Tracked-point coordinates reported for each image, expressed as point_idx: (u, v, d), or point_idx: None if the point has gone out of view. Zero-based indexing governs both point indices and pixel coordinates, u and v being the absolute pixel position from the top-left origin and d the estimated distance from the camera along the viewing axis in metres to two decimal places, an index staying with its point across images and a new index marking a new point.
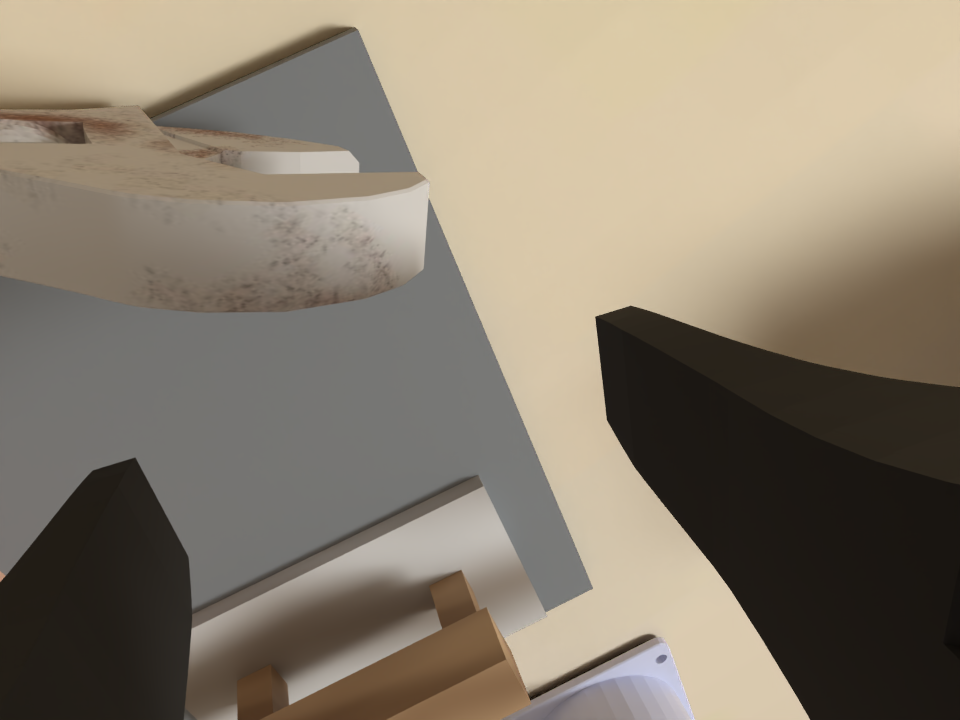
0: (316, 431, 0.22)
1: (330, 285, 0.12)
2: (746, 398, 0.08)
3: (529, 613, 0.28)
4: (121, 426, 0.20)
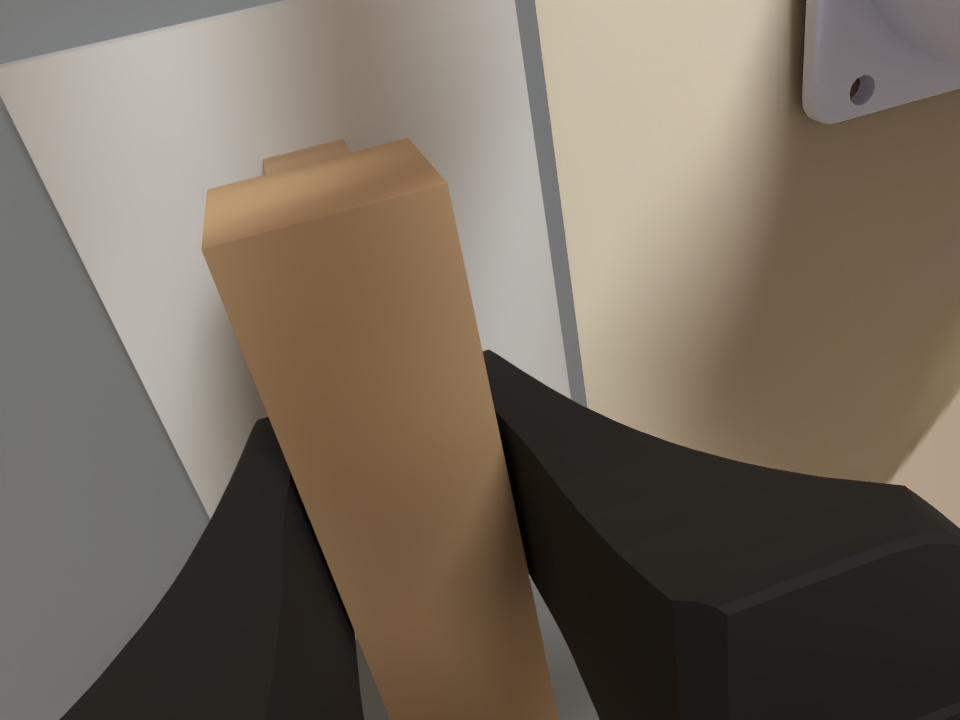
0: None
1: None
2: (547, 464, 0.08)
3: (476, 2, 0.11)
4: None
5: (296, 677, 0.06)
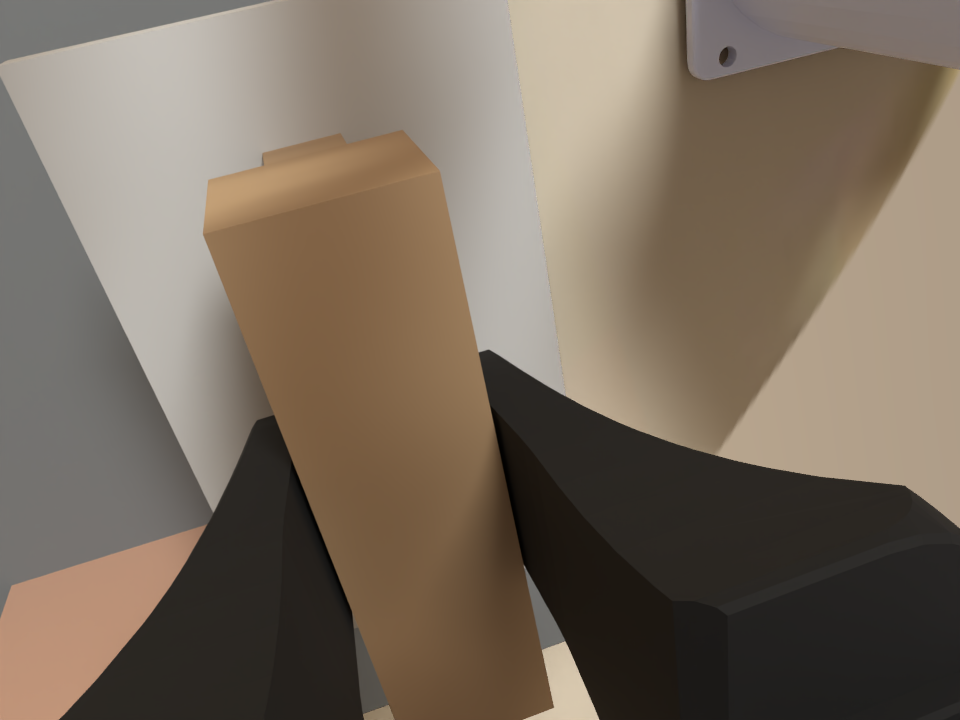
0: (48, 231, 0.18)
1: None
2: (547, 465, 0.08)
3: (469, 0, 0.11)
4: (13, 414, 0.20)
5: (295, 677, 0.06)
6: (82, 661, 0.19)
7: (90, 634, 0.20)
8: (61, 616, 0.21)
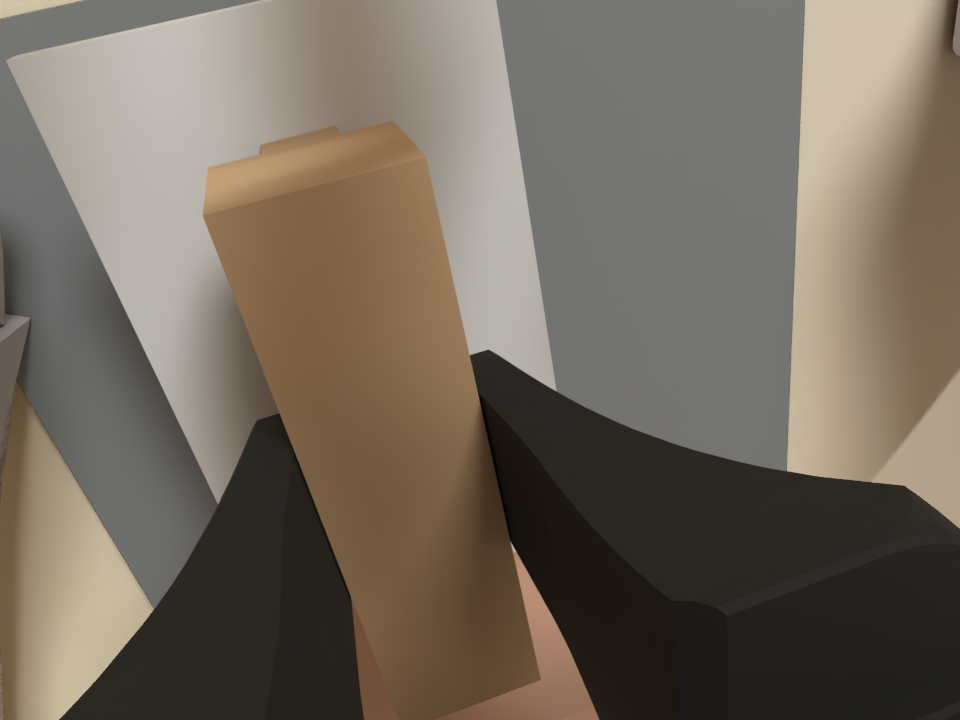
0: None
1: None
2: (547, 464, 0.08)
3: None
4: None
5: (296, 677, 0.06)
6: None
7: None
8: None
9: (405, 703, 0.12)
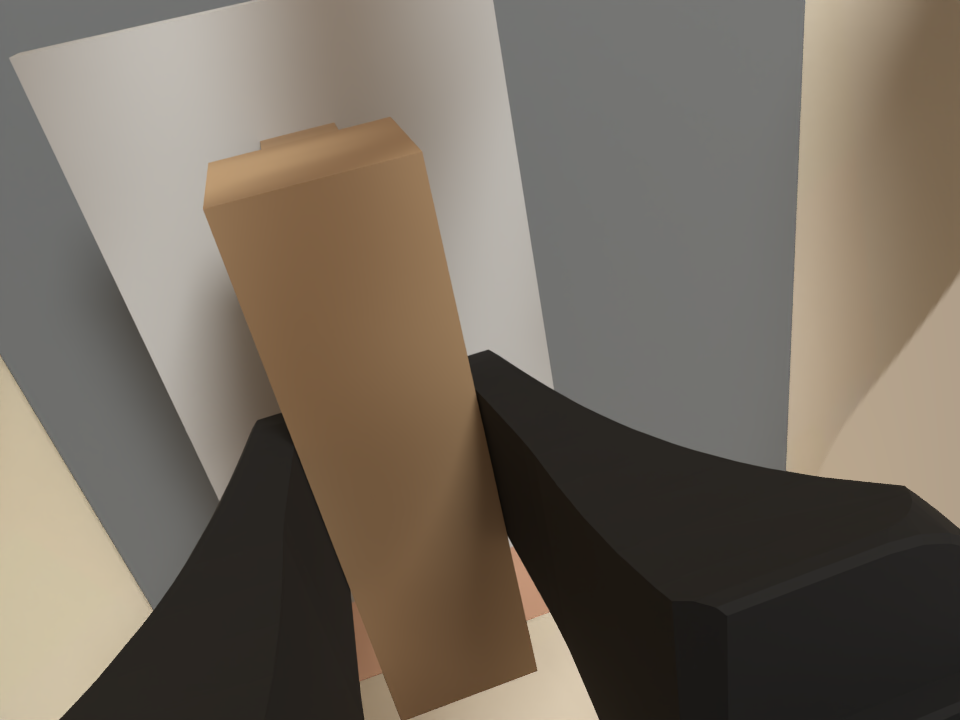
0: None
1: None
2: (547, 465, 0.08)
3: None
4: None
5: (296, 677, 0.06)
6: None
7: None
8: None
9: (403, 693, 0.12)
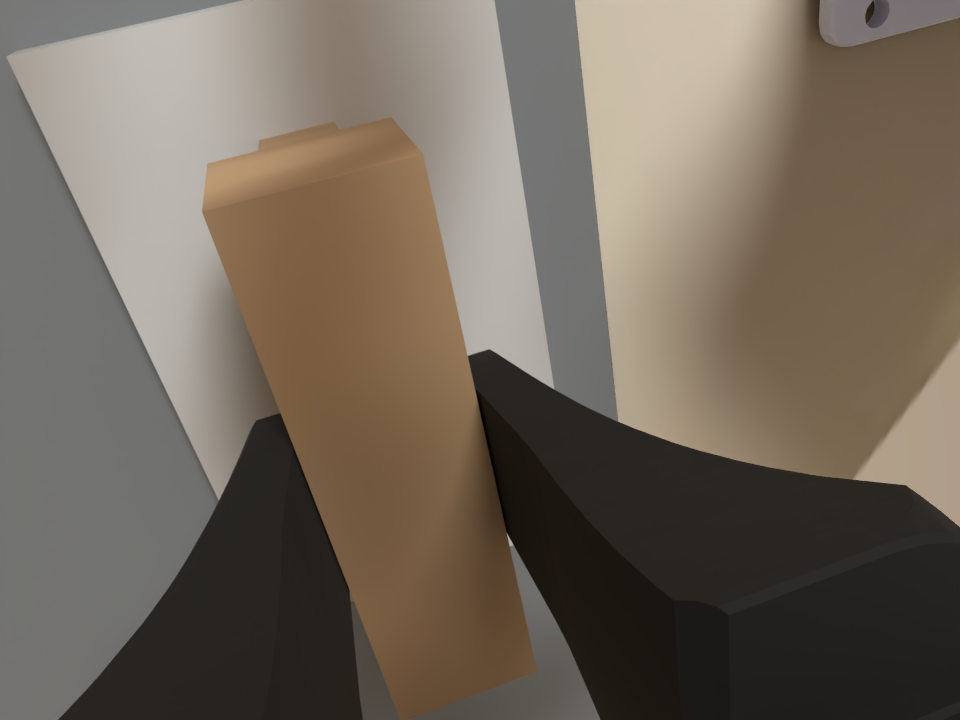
0: None
1: None
2: (548, 464, 0.08)
3: None
4: None
5: (294, 678, 0.06)
6: None
7: None
8: None
9: (403, 694, 0.12)
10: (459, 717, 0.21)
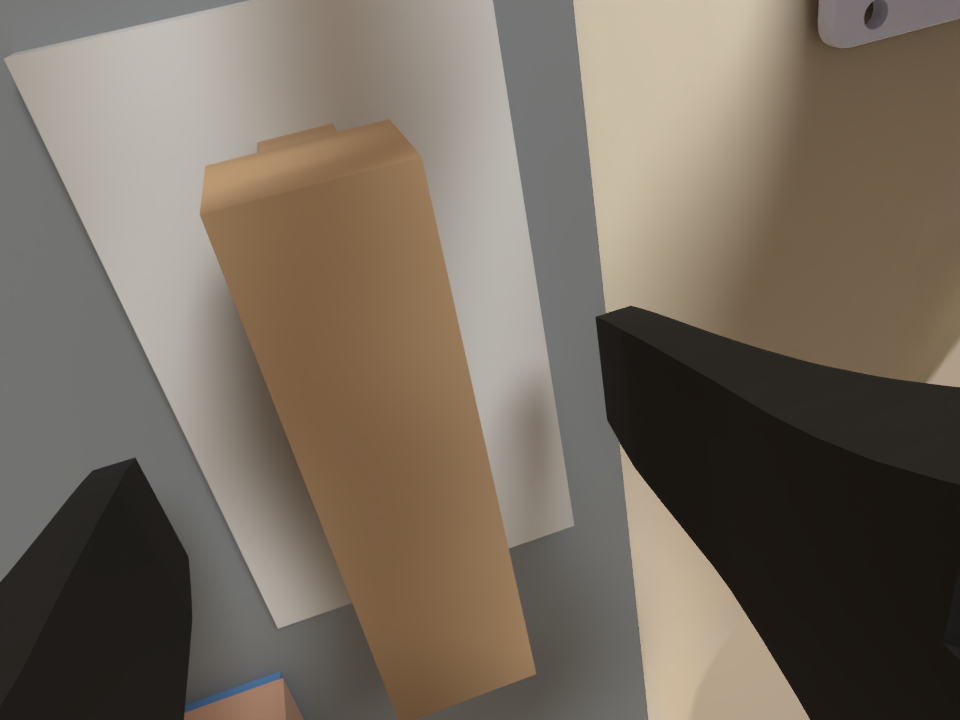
0: None
1: None
2: (746, 398, 0.08)
3: None
4: None
5: None
6: None
7: None
8: None
9: (402, 697, 0.12)
10: (459, 719, 0.21)
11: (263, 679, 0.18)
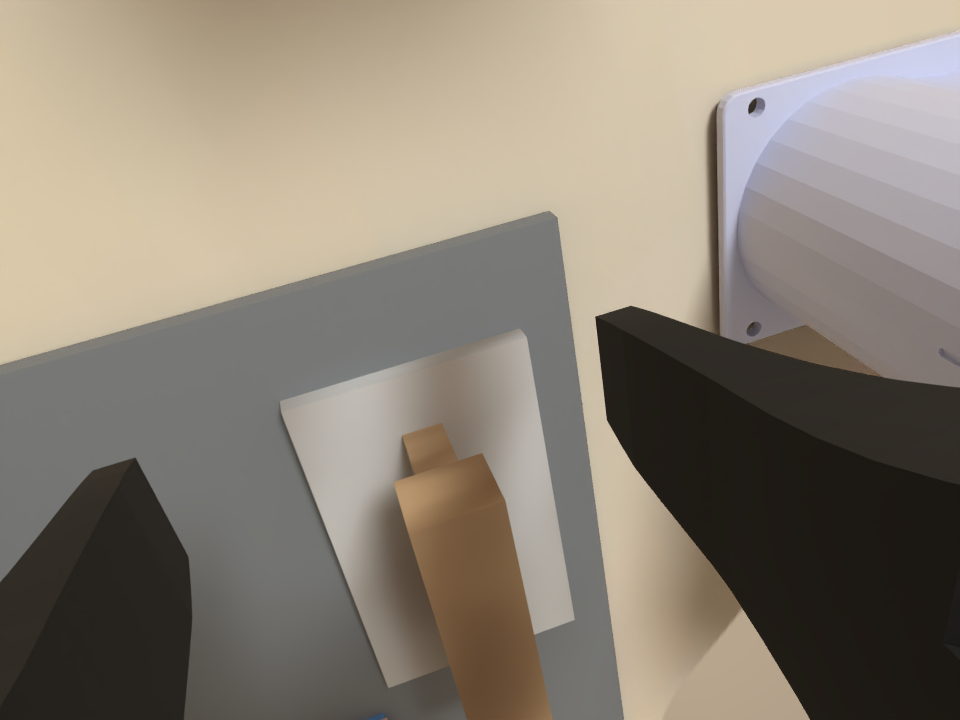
0: (201, 510, 0.22)
1: None
2: (746, 398, 0.08)
3: (510, 359, 0.22)
4: None
5: None
6: None
7: None
8: None
9: None
10: None
11: (373, 718, 0.28)
